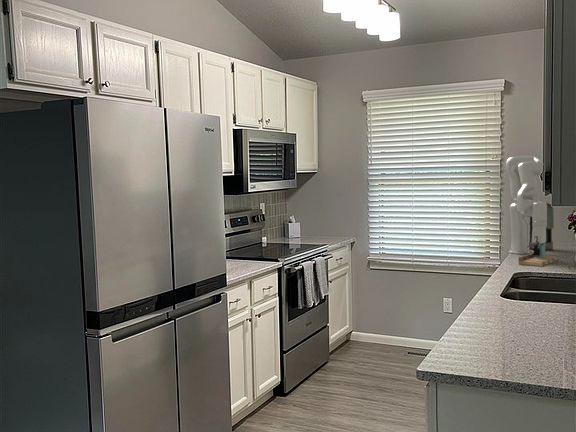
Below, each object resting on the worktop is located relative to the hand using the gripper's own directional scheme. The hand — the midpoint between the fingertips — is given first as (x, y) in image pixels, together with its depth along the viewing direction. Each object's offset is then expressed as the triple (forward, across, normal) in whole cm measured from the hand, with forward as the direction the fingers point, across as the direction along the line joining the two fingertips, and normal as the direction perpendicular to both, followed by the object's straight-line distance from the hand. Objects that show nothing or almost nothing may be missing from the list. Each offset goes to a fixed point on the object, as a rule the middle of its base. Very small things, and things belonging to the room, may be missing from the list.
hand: (539, 254), depth 317 cm
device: (+4, -43, -14) cm, 45 cm away
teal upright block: (+2, 0, 0) cm, 2 cm away
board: (+4, +7, +2) cm, 8 cm away
